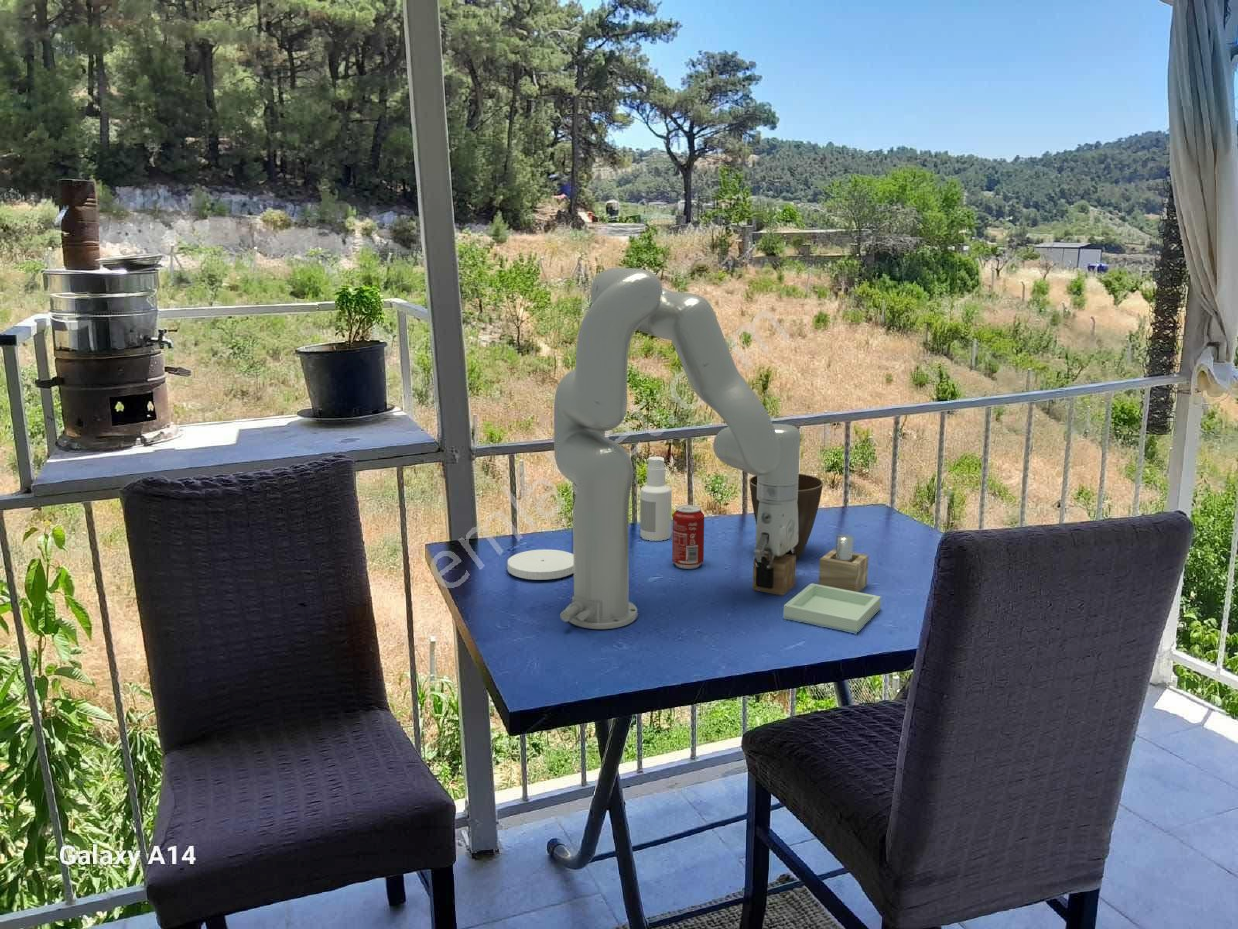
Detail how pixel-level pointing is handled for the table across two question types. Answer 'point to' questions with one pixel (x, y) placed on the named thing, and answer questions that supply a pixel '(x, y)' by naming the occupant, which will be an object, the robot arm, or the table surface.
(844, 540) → the cylinder
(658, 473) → the spray bottle
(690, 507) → the beverage can
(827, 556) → the go block
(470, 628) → the table surface
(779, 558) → the block
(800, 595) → the tray
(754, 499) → the plant pot
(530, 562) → the plastic lid
